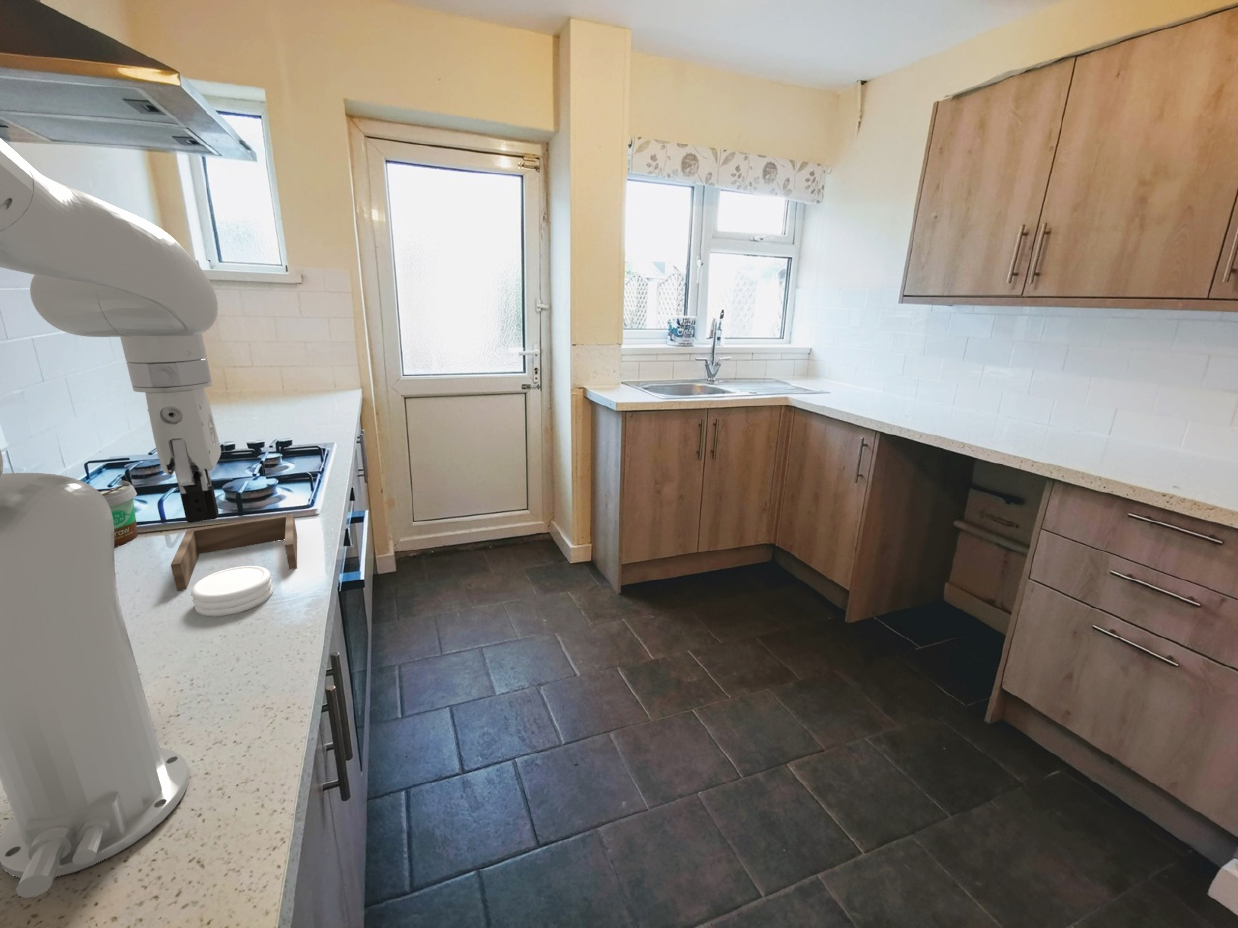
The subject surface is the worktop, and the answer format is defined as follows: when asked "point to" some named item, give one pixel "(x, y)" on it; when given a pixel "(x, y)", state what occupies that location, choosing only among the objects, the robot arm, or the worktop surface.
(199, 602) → the coaster
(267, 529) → the box
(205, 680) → the worktop surface
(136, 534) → the food container
